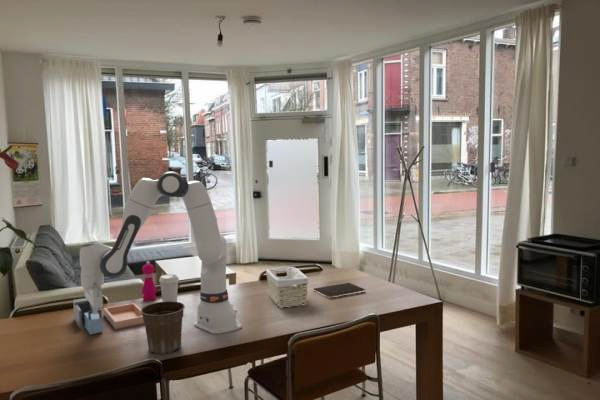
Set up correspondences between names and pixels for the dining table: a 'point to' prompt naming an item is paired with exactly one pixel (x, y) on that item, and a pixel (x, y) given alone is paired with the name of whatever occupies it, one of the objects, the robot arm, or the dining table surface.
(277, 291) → the storage basket
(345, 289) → the hardcover book
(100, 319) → the small pale blue carton
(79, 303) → the bay
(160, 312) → the plant pot
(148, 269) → the pepper mill
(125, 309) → the tray
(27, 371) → the dining table surface
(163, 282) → the coffee cup
